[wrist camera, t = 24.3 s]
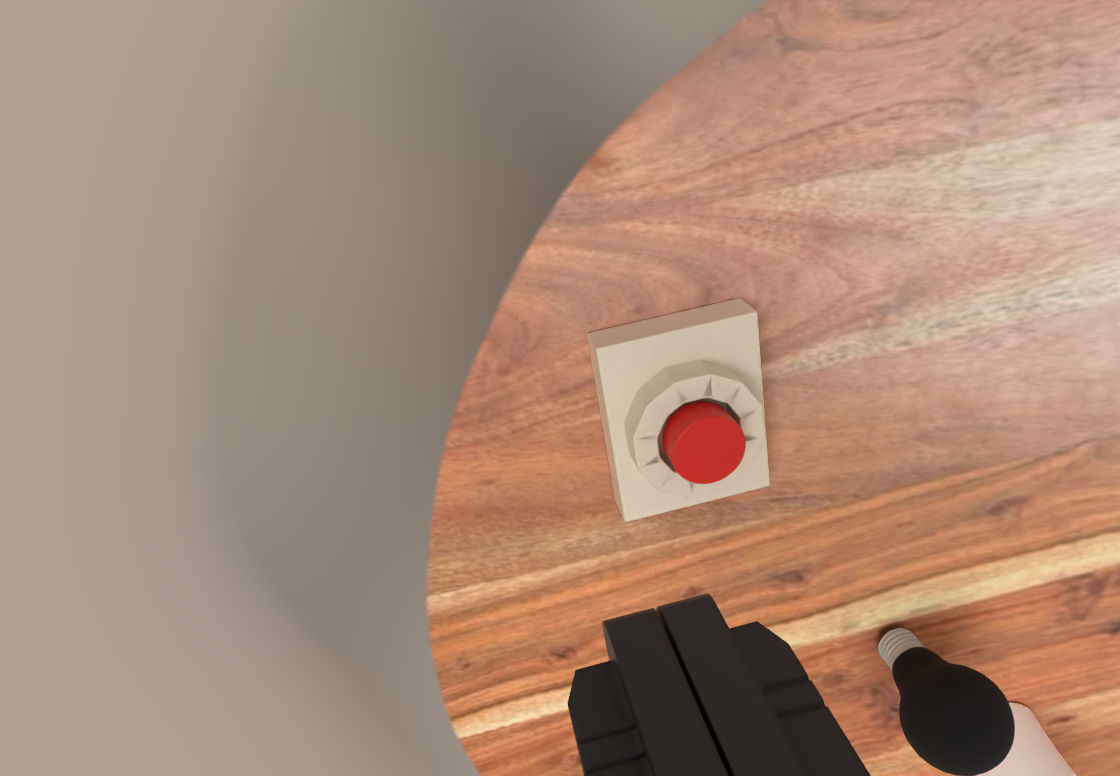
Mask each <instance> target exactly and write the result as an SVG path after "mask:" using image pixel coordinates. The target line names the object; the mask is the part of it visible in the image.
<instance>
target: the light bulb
mask: <svg viewBox="0 0 1120 776" xmlns="http://www.w3.org/2000/svg"><path fill="white" fill-rule="evenodd" d="M878 651H879V654H880V656H881V657H882V658H883V660H885V662H886V663H887V665H888V666H889V667H890V669H891V672H892V674H893V677H894V680H895V683H896V685H897V687H898V689H899V692H900V696H901V700H900V710H899V715H900V721H901V726H902V729H903V732H904V735H905V737H906V738H907V740H908V742H909V744H910V745H911V746H912V748H913V749H914V750H915V751H916V753H917V754H918V755H919V756H920V757H921V758H923V759H924V760H925V761H926V762H927V763H929V764H930V765H932V766H933V767H935V768H937V769H939V770H941V771H943V772H946V773H950V774H953V775H960V776H974V775H979V774H983V773H986V772H988V771H990V770H992V769H994V768H995V767H996V766H998V765H999V764H1000V763H1001V762H1002V761H1003V760H1004V759H1005V758H1006V756H1007V755H1008V753H1009V752H1010V749H1011V747H1012V745H1013V741H1014V735H1015V722H1014V717H1013V713H1012V710H1011V707H1010V705H1009V703H1008V701H1007V699H1006V697H1005V696H1004V694H1003V693H1002V692H1001V690H1000V689H999V688H998V687H997V685H996V684H995V683H994V682H992V681H991V680H990V679H989V678H987V677H986V676H985V675H983V674H982V673H980V672H978V671H976V670H974V669H971V668H969V667H966V666H962V665H957V664H951V663H948V662H947V661H945V660H943V659H942V658H941V657H940V656H938V655H937V654H935V653H934V652H932V651H931V650H929V649H928V648H926V647H924V646H923V644H921V642H920V641H919V640H918V638H917V637H916V636H915V635H914V634H913V633H912V632H911V631H909V630H908V629H903V628H898V629H894V630H891V631H888V632H886V633H885V635H884V636H883V637H882V639H881V640H880V643H879V647H878Z"/></svg>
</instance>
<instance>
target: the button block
mask: <svg viewBox="0 0 1120 776" xmlns="http://www.w3.org/2000/svg"><path fill="white" fill-rule="evenodd" d="M587 339H588V344H589V350H590V356H591V362H592V368H593V374H594V380H595V386H596V391H597V397H598V403H599V409H600V415H601V421H602V427H603V432H604V438H605V444H606V450H607V456H608V462H609V468H610V473H611V479H612V485H613V491H614V497H615V501H616V503H617V506H618V508H619V510H620V512H621V515H622V517H623V519H624V521H625V522H628V521H632V520H636V519H640V518H644V517H648V516H652V515H656V514H660V513H664V512H668V511H672V510H676V509H680V508H684V507H688V506H692V505H696V504H699V503H703V502H707V501H711V500H715V499H719V498H723V497H727V496H731V495H735V494H739V493H743V492H747V491H751V490H755V489H759V488H763V487H767V486H770V482H769V468H768V454H767V440H766V427H765V413H764V399H763V385H762V371H761V358H760V344H759V330H758V316H757V311H756V310H754V309H753V308H752V307H751V306H750V305H748V304H747V303H746V302H745V301H743V300H742V299H741V298H738V299H733V300H729V301H725V302H720V303H716V304H712V305H707V306H703V307H699V308H694V309H690V310H686V311H681V312H677V313H673V314H668V315H664V316H660V317H655V318H651V319H647V320H642V321H638V322H634V323H629V324H625V325H621V326H616V327H612V328H608V329H603V330H599V331H595V332H590V333H587ZM700 401H706V402H712V403H715V404H718V405H720V406H721V407H723V408H724V409H725V410H726V411H727V412H728V413H729V414H730V415H731V417H732V418H733V419H734V420H735V421H736V423H737V424H738V425H739V426H740V428H741V429H742V431H743V433H744V436H745V441H746V447H745V453H744V456H743V459H742V461H741V462H740V464H739V465H738V467H737V468H736V469H735V470H734V471H733V472H732V473H731V474H730V475H728V476H727V477H725V478H724V479H722V480H720V481H717V482H714V483H710V484H697V483H693V482H689V481H687V480H685V479H684V478H682V477H681V476H680V475H679V474H678V473H677V471H676V470H675V468H674V466H673V465H672V463H671V462H670V460H669V458H668V457H667V455H666V453H665V451H664V449H663V444H662V435H663V431H664V428H665V425H666V423H667V422H668V420H669V419H670V417H671V416H672V415H673V414H674V413H675V412H676V411H677V410H679V409H680V408H682V407H684V406H685V405H688V404H690V403H694V402H700Z"/></svg>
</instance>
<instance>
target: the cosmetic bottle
mask: <svg viewBox="0 0 1120 776" xmlns="http://www.w3.org/2000/svg"><path fill="white" fill-rule="evenodd" d="M1009 705H1010V707H1011V710H1012V713H1013V717H1014V722H1015V735H1014V741H1013V745H1012V747H1011V749H1010V752H1009V753H1008V755H1007V756H1006V758H1005V759H1004V760H1003V761H1002V762H1001V763H1000V764H999V765H998V766H996V767H995V768H994V769H992V770H990V771H988V772H986V773H983V774H979V775H976V776H1076V775H1075V773H1074V772H1073V771H1072V769H1071V768H1070V767H1069V765H1068V764H1067V763H1066V761H1065V760H1064V759H1063V757H1062V756H1061V755H1060V753H1059V752H1058V750H1057V749H1056V748H1055V746H1054V745H1053V743H1052V742H1051V740H1050V739H1049V737H1048V736H1047V734H1046V733H1045V731H1044V730H1043V728H1042V727H1041V725H1040V724H1039V722H1038V721H1037V719H1036V717H1035V716H1034V714H1033V713H1032V711H1031V710H1030V709H1029V708H1027V707H1026V706H1024V705H1022V704H1018V703H1009Z"/></svg>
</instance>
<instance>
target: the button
mask: <svg viewBox="0 0 1120 776" xmlns="http://www.w3.org/2000/svg"><path fill="white" fill-rule="evenodd" d="M662 444H663V449H664V451H665V453H666V455H667V457H668V458H669V460H670V462H671V463H672V465H673V466H674V468H675V470H676V471H677V473H678V474H679V475H680V476H681V477H682V478H684V479H685V480H687V481H689V482H693V483H697V484H710V483H714V482H717V481H720V480H722V479H724V478H725V477H727V476H728V475H730V474H731V473H732V472H733V471H734V470H735V469H736V468H737V467H738V465H739V464H740V462H741V461H742V459H743V456H744V453H745V447H746V441H745V436H744V433H743V431H742V429H741V428H740V426H739V425H738V424H737V423H736V421H735V420H734V419H733V418H732V417H731V415H730V414H729V413H728V412H727V411H726V410H725V409H724V408H723V407H721V406H720V405H718V404H715V403H712V402H706V401H700V402H694V403H690V404H688V405H685V406H684V407H682V408H680V409H679V410H677V411H676V412H675V413H674V414H673V415H672V416H671V417H670V419H669V420H668V422H667V423H666V425H665V428H664V431H663V435H662Z"/></svg>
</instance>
